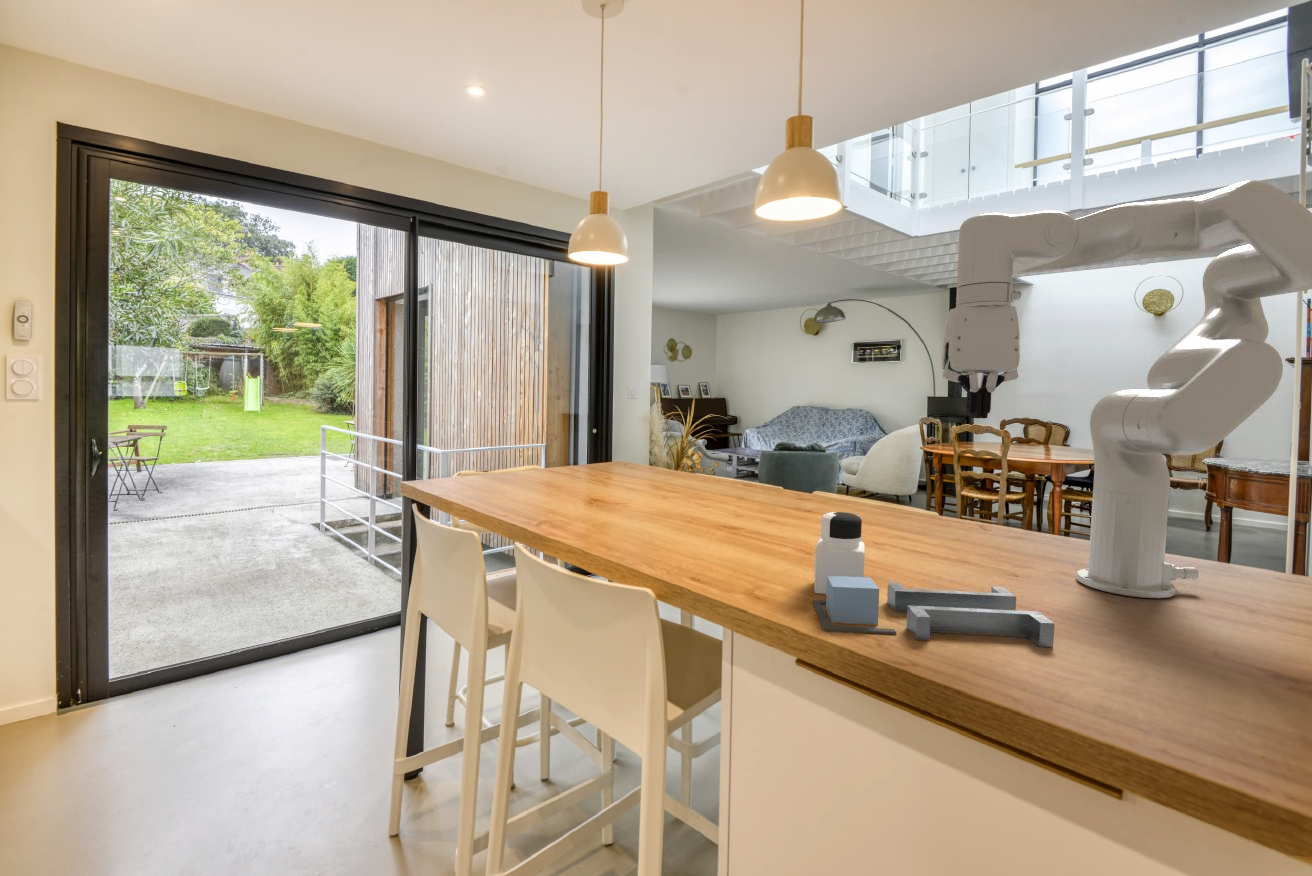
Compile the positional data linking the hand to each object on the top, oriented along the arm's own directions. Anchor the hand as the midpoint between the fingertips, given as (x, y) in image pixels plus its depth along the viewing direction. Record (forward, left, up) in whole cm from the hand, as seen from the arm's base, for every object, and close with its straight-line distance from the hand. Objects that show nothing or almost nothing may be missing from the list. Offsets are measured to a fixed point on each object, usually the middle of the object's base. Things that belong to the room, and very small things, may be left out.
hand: (977, 417), depth 94 cm
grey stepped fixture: (+7, +16, -27) cm, 32 cm away
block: (+22, +16, -27) cm, 38 cm away
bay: (+21, +16, -27) cm, 38 cm away
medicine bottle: (+21, +4, -27) cm, 35 cm away
